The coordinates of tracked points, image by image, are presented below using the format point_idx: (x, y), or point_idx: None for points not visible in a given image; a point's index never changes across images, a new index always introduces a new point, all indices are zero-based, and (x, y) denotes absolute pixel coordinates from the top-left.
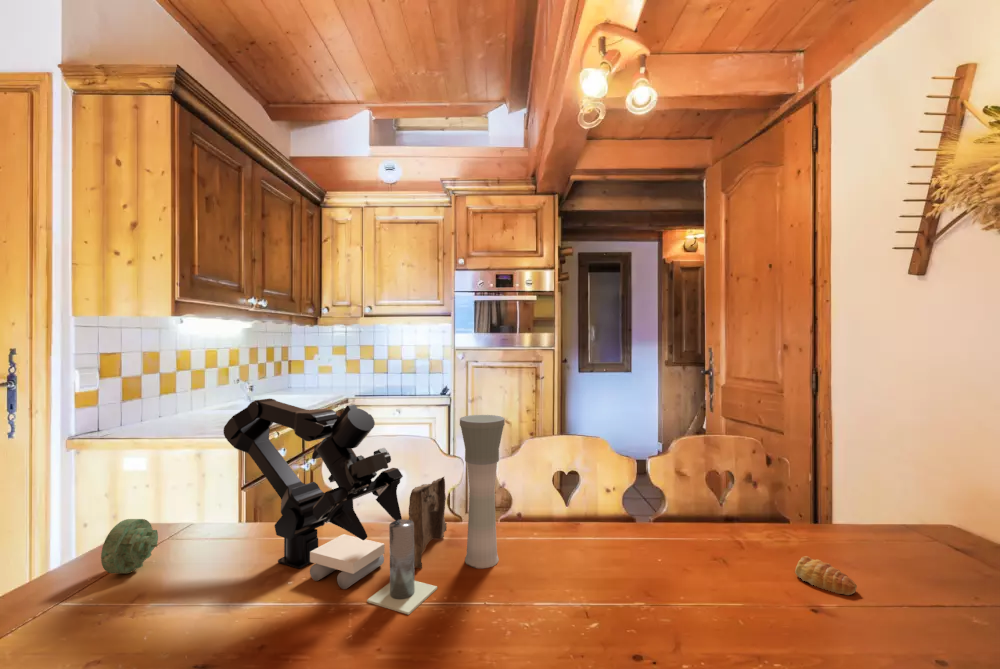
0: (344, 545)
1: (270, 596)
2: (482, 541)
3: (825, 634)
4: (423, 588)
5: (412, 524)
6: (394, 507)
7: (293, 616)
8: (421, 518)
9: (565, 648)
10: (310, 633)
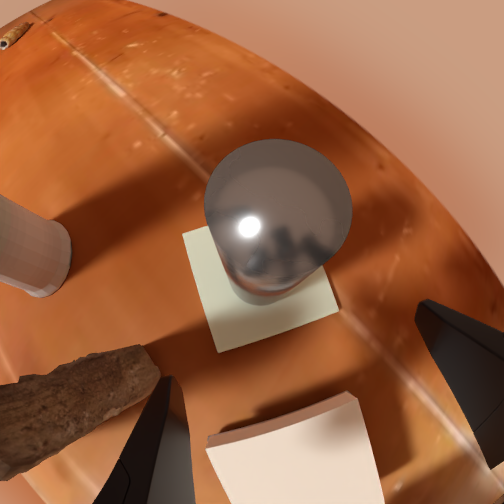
0: None
1: (441, 453)
2: (27, 213)
3: (77, 5)
4: (210, 251)
5: (237, 154)
6: (164, 444)
7: None
8: (59, 375)
9: (190, 36)
10: (448, 289)
